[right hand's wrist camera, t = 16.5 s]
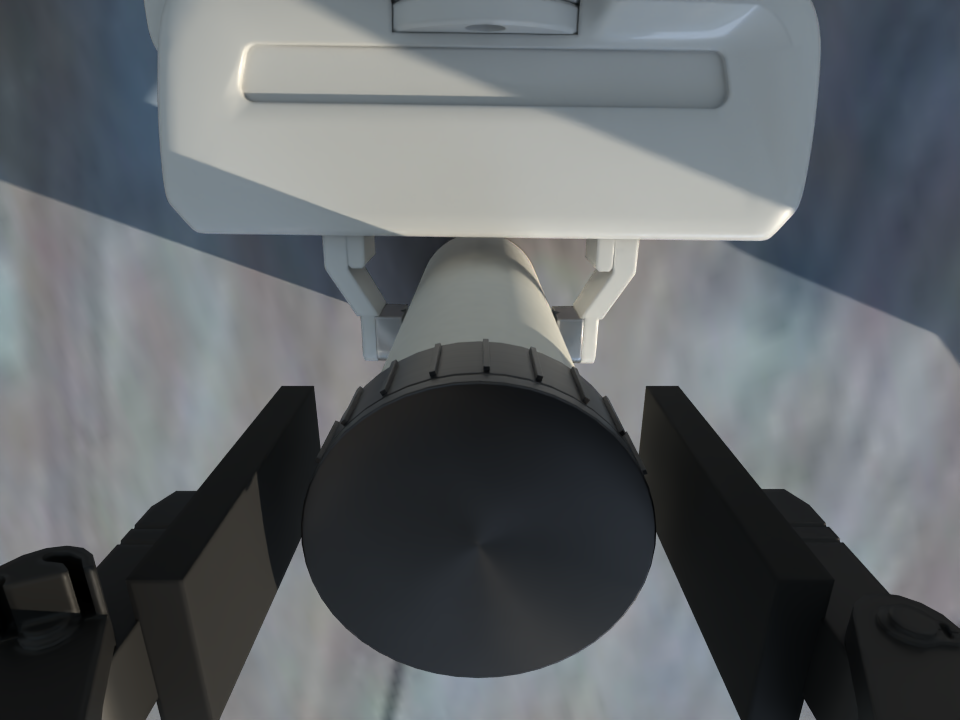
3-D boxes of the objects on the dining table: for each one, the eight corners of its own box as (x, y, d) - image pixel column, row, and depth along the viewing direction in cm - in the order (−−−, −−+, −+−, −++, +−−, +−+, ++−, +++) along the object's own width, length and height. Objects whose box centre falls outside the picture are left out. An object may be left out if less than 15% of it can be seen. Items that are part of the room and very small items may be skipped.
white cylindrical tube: (431, 352, 29) (363, 643, 12) (412, 240, 27) (303, 403, 10) (542, 338, 29) (630, 617, 12) (532, 225, 27) (618, 365, 10)
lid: (669, 551, 13) (702, 623, 11) (403, 636, 14) (390, 717, 12) (574, 287, 11) (594, 319, 9) (269, 407, 12) (227, 459, 10)
